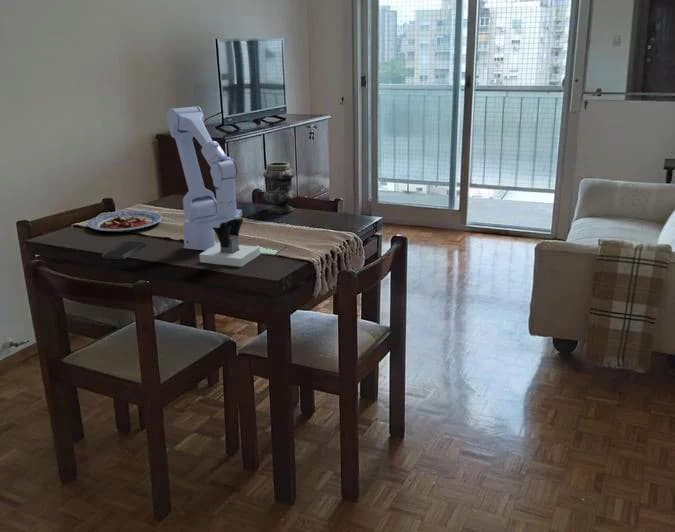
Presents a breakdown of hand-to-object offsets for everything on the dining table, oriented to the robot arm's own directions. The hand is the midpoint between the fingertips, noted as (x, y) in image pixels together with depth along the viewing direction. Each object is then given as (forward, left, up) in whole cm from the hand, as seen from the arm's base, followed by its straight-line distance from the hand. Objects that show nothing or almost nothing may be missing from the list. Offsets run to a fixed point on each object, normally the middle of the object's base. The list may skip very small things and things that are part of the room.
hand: (229, 244), depth 211 cm
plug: (0, 0, -4) cm, 4 cm away
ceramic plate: (-55, +22, -5) cm, 59 cm away
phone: (-36, -4, -5) cm, 37 cm away
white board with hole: (0, 0, -4) cm, 4 cm away
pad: (+7, +12, -4) cm, 14 cm away
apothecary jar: (-11, +58, -5) cm, 59 cm away
